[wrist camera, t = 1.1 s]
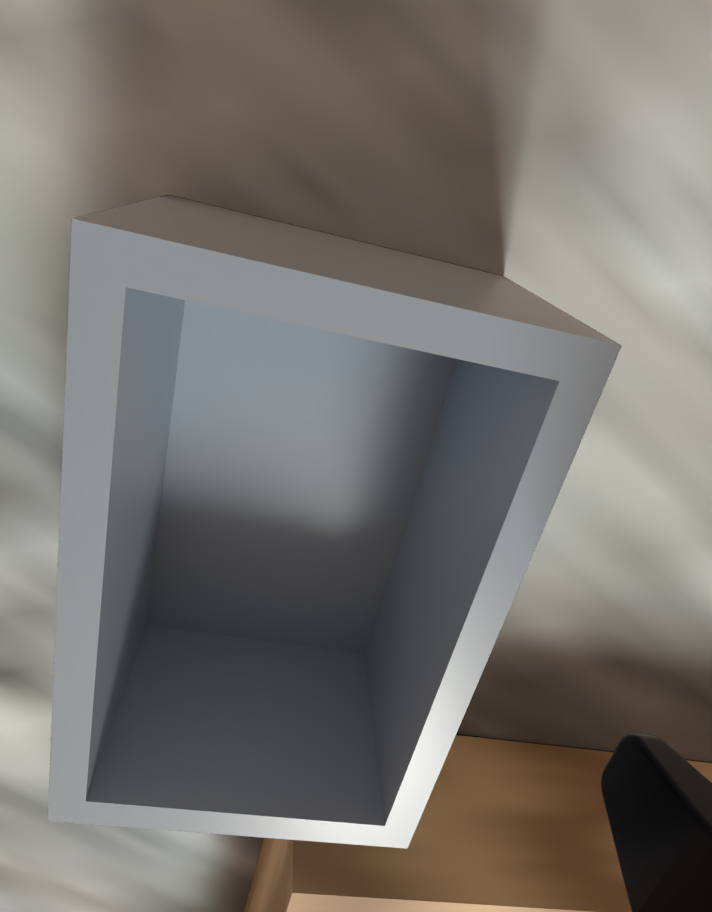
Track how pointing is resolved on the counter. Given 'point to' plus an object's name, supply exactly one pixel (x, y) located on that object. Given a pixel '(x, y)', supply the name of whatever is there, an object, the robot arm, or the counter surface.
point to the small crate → (290, 517)
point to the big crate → (470, 843)
